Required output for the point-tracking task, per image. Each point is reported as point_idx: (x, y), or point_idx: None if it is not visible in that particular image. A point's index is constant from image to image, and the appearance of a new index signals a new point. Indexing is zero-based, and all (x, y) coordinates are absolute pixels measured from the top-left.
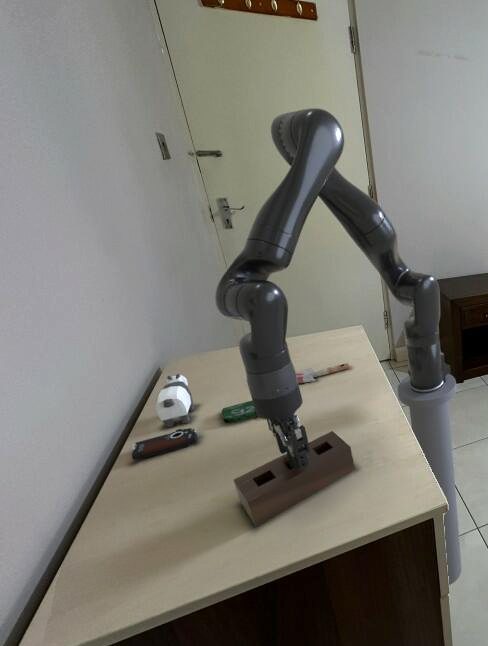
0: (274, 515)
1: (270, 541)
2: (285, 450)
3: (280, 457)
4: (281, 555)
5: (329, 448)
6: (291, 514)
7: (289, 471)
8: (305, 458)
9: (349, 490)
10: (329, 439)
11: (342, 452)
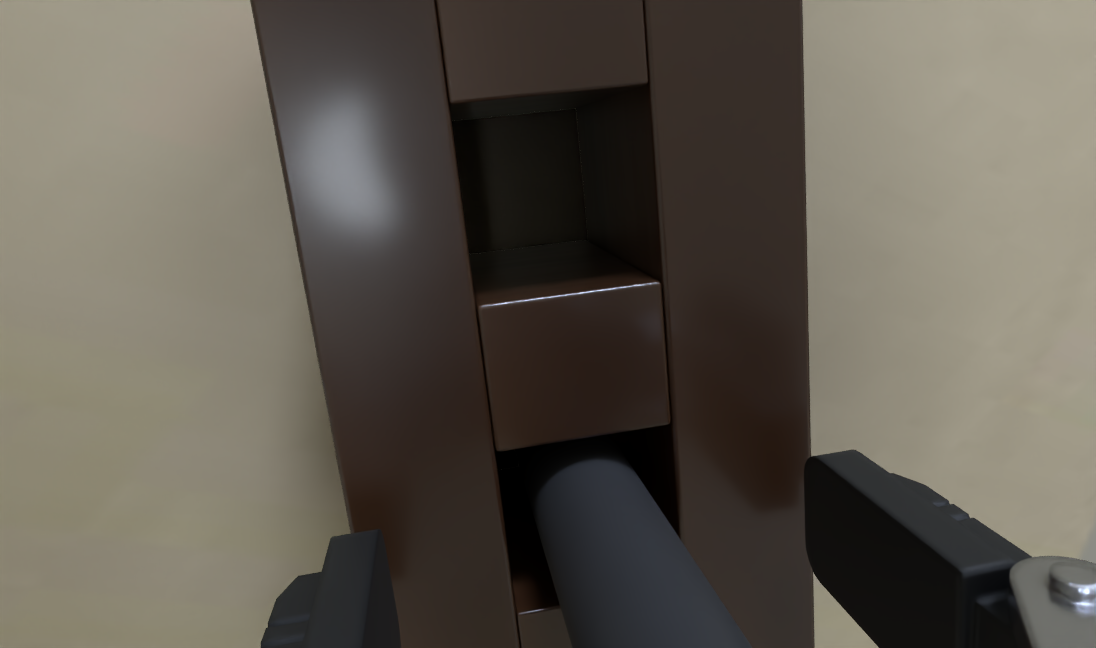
0: None
1: (873, 641)
2: (391, 611)
3: None
4: None
5: (493, 105)
6: None
7: None
8: (992, 535)
9: (859, 130)
10: (439, 55)
11: (796, 26)
